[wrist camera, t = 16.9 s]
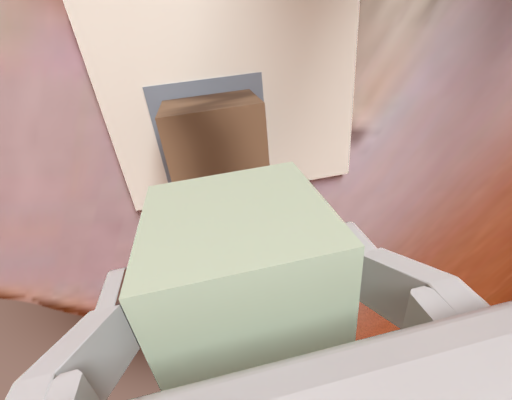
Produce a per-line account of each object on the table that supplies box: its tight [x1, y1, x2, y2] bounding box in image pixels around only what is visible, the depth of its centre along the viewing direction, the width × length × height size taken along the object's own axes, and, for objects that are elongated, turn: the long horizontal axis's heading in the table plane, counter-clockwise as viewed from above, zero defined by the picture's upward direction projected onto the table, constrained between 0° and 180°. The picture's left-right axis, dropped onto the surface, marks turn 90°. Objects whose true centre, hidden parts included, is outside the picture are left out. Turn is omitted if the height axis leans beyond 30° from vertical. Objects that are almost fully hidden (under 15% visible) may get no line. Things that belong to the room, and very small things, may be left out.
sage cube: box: [119, 162, 365, 391], centre depth 9 cm, size 5×5×5 cm
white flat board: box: [63, 0, 360, 211], centre depth 22 cm, size 18×14×1 cm
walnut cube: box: [155, 89, 270, 182], centre depth 20 cm, size 6×6×5 cm
